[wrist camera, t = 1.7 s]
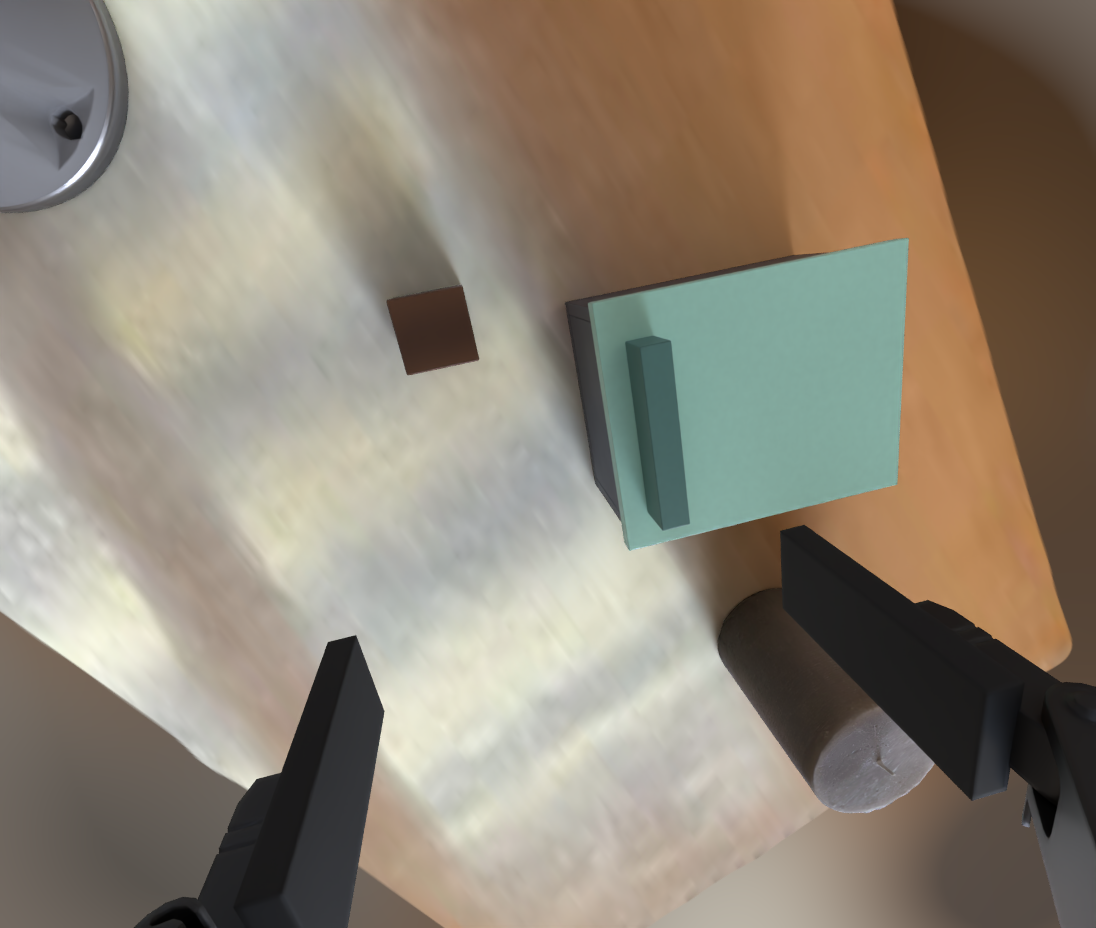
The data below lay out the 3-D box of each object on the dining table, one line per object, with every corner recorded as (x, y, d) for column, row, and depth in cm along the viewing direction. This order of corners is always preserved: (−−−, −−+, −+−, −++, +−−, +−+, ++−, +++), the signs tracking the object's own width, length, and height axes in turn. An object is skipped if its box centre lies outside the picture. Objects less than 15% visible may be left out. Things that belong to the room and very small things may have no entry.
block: (394, 297, 35) (385, 300, 30) (461, 284, 35) (462, 284, 31) (413, 364, 36) (407, 375, 32) (477, 351, 36) (479, 360, 32)
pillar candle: (706, 612, 47) (812, 755, 33) (809, 570, 47) (958, 695, 33) (729, 693, 50) (835, 854, 36) (825, 654, 50) (967, 798, 36)
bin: (564, 302, 36) (595, 308, 28) (793, 254, 38) (887, 248, 29) (595, 484, 41) (629, 536, 33) (798, 436, 42) (879, 474, 34)
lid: (587, 302, 28) (604, 305, 25) (894, 238, 29) (949, 233, 26) (624, 543, 33) (642, 572, 30) (885, 479, 34) (930, 500, 31)
